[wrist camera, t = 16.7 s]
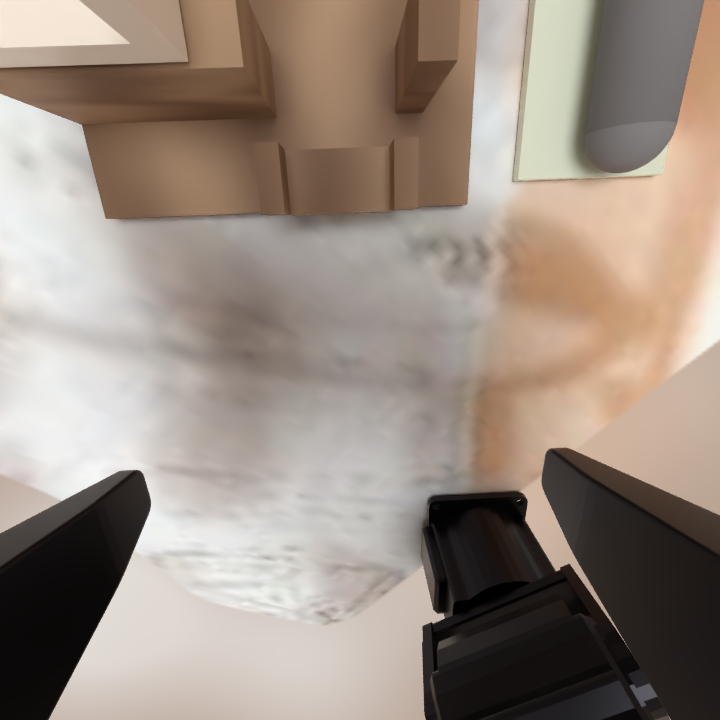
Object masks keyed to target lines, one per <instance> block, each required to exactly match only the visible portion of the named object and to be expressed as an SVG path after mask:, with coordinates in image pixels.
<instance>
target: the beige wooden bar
mask: <svg viewBox="0 0 720 720" xmlns="http://www.w3.org/2000/svg"><path fill="white" fill-rule="evenodd" d="M165 62H188V56H187V49H186V43H185V37H184V31H183V25H182V18H181V12H180V6H179V0H0V68H10V67H41V66H72V65H103V64H134V63H165Z"/></svg>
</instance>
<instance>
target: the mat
mask: <svg viewBox="0 0 720 720" xmlns="http://www.w3.org/2000/svg"><path fill="white" fill-rule="evenodd" d="M604 2H605V0H530V3H529V14H528V24H527V35H526V46H525V56H524V67H523V77H522V88H521V99H520V109H519V120H518V131H517V141H516V152H515V162H514V173H513V181H538V180H564V179H590V178H616V177H642V176H656V175H662V174H663V169H664V164H665V160H666V155H667V151H668V146H669V143H668V144H667V146H666V147H665V148H664V150H663V151H662V152H661V153H660V154H659V155H658V156H657V157H656V158H655V159H653V160H652V161H650V162H649V163H648V164H646V165H644V166H642V167H640V168H638V169H636V170H633V171H630V172H626V173H608V172H604V171H602V170H599V169H598V168H596V167H595V166H594V165H592V163H591V162H590V161H589V159H588V158H587V155H586V153H585V148H584V136H585V129H586V123H587V116H588V109H589V103H590V96H591V89H592V83H593V76H594V69H595V63H596V56H597V49H598V43H599V36H600V29H601V22H602V16H603V9H604ZM669 142H670V141H669Z"/></svg>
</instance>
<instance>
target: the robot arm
mask: <svg viewBox="0 0 720 720" xmlns="http://www.w3.org/2000/svg"><path fill="white" fill-rule="evenodd" d="M542 487H543V490H544V492H545V495H546V497H547V499H548V501H549V503H550V505H551V507H552V510H553V511H554V514H555V516H556V518H557V520H558V523H559V525H560V527H561V529H562V531H563V533H564V535H565V538H566V540H567V542H568V544H569V546H570V548H571V550H572V552H573V554H574V556H575V558H576V559H577V561H578V563H579V565H580V566H581V568H582V570H583V571H584V573H585V575H586V576H587V578H588V580H589V581H590V583H591V585H592V586H593V588H594V590H595V592H596V594H597V595H598V597H599V599H600V600H601V602H602V604H603V605H604V607H605V609H606V610H607V612H608V614H609V616H610V617H611V619H612V621H613V622H614V624H615V626H616V627H617V629H618V631H619V632H620V634H621V636H622V638H623V639H624V641H625V642H624V641H623V640H622V638H621V636H620V635H619V633H618V632H617V630H616V629H615V627H614V626H613V625H612V623H611V622H610V620H609V619H608V618H607V616H606V615H605V613H604V612H603V611H602V609H601V608H600V606H599V605H598V603H597V602H596V601H595V599H594V598H593V596H592V595H591V594H590V592H589V591H588V589H587V588H586V586H585V585H584V584H583V582H582V581H581V579H580V578H579V577H578V575H577V574H576V573H575V571H574V570H573V568H572V567H571V565H570V564H568V565H565V566H563V567H561V568H560V569H561V570H559V571H555V569H554V567H553V566H552V564H551V562H550V561H549V559H548V558H547V556H546V554H545V553H544V551H543V549H542V548H541V546H540V544H539V543H538V541H537V539H536V538H535V536H534V534H533V533H532V531H531V529H530V528H529V526H528V524H527V523H526V521H525V516H526V509H527V502H528V501H527V499H526V497H525V496H524V494H523V493H520V492H514V493H496V494H477V495H458V496H439V497H432V498H431V499H430V500H429V501H428V516H427V526H424V528H423V529H422V551H421V556H422V561H423V566H424V570H425V575H426V579H427V584H428V588H429V592H430V597H431V601H432V606H433V610H434V611H435V612H436V613H438V614H439V613H444V616H445V619H443V620H441V621H438V622H436V623H434V624H433V623H429V624H426V625H424V626H423V642H422V652H423V683H424V712H425V718H426V720H670V719H671V720H720V515H718V514H715V513H713V512H711V511H709V510H706V509H704V508H702V507H700V506H697V505H695V504H693V503H690V502H688V501H686V500H684V499H682V498H679V497H677V496H675V495H673V494H670V493H668V492H665V491H664V490H661V489H659V488H657V487H655V486H652V485H650V484H648V483H645V482H643V481H641V480H639V479H637V478H634V477H632V476H630V475H628V474H625V473H623V472H621V471H618V470H616V469H614V468H612V467H609V466H607V465H605V464H602V463H601V462H598V461H596V460H594V459H591V458H589V457H587V456H585V455H583V454H580V453H578V452H576V451H574V450H571V449H569V448H551V449H549V450H548V451H547V452H546V455H545V461H544V467H543V473H542ZM520 499H521V500H520ZM518 500H520V501H518ZM517 501H518V502H517ZM435 504H438V505H437V506H434V505H435ZM150 508H151V499H150V495H149V492H148V488H147V485H146V481H145V478H144V475H143V473H142V472H141V471H139V470H126V471H119V472H117V473H115V474H113V475H111V476H109V477H107V478H105V479H103V480H102V481H100V482H98V483H96V484H94V485H92V486H90V487H88V488H86V489H84V490H82V491H81V492H79V493H77V494H75V495H73V496H71V497H69V498H67V499H65V500H63V501H61V502H60V503H58V504H56V505H54V506H52V507H50V508H48V509H46V510H44V511H42V512H41V513H39V514H37V515H35V516H33V517H31V518H29V519H27V520H25V521H23V522H21V523H20V524H18V525H16V526H14V527H12V528H10V529H8V530H6V531H4V532H2V533H1V534H0V720H49V718H50V716H51V714H52V712H53V710H54V708H55V706H56V704H57V702H58V700H59V698H60V696H61V695H62V693H63V691H64V689H65V687H66V685H67V683H68V681H69V679H70V678H71V676H72V674H73V672H74V670H75V668H76V666H77V664H78V662H79V660H80V658H81V657H82V655H83V653H84V651H85V649H86V647H87V645H88V643H89V641H90V639H91V637H92V636H93V634H94V632H95V630H96V628H97V626H98V624H99V622H100V620H101V618H102V617H103V614H104V613H105V611H106V609H107V607H108V605H109V603H110V601H111V599H112V597H113V596H114V594H115V591H116V589H117V588H118V586H119V584H120V581H121V579H122V577H123V575H124V572H125V570H126V568H127V566H128V563H129V561H130V558H131V556H132V554H133V551H134V549H135V546H136V544H137V541H138V539H139V537H140V534H141V532H142V529H143V527H144V524H145V522H146V519H147V517H148V515H149V512H150ZM625 643H626V644H627V646H628V647H627V646H626V644H625ZM628 648H629V649H630V650H629V649H628ZM630 651H631V652H630ZM668 715H669V716H668ZM669 717H670V719H669Z"/></svg>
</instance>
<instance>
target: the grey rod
mask: <svg viewBox="0 0 720 720" xmlns="http://www.w3.org/2000/svg"><path fill="white" fill-rule="evenodd" d="M703 3H704V0H605V2H604V9H603V16H602V22H601V29H600V36H599V43H598V49H597V56H596V63H595V69H594V76H593V83H592V89H591V96H590V103H589V109H588V116H587V123H586V129H585V136H584V148H585V153H586V155H587V158H588V159H589V161H590V162H591V163H592V165H594V166H595V167H596V168H598V169H599V170H602V171H604V172H608V173H626V172H630V171H633V170H636V169H638V168H640V167H642V166H644V165H646V164H648V163H649V162H650V161H652V160H653V159H655V158H656V157H657V156H658V155H659V154H660V153H661V152H662V151H663V150H664V148H665V147H666V146H667V144H668V143H669V141H670V139H671V137H672V136H673V133H674V130H675V127H676V125H677V121H678V116H679V112H680V107H681V103H682V98H683V94H684V89H685V85H686V80H687V76H688V71H689V67H690V62H691V58H692V53H693V49H694V44H695V40H696V35H697V31H698V26H699V21H700V17H701V12H702V8H703Z"/></svg>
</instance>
